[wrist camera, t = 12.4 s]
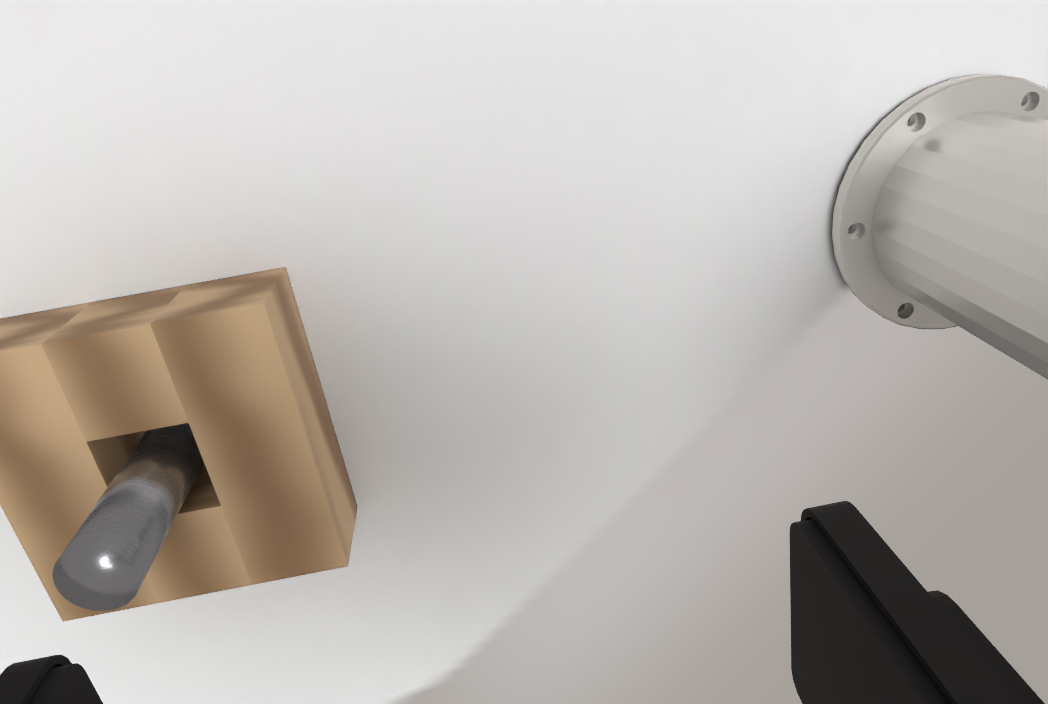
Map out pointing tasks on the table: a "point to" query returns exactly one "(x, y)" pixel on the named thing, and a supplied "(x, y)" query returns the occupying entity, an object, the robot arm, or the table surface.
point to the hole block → (171, 399)
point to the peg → (129, 521)
